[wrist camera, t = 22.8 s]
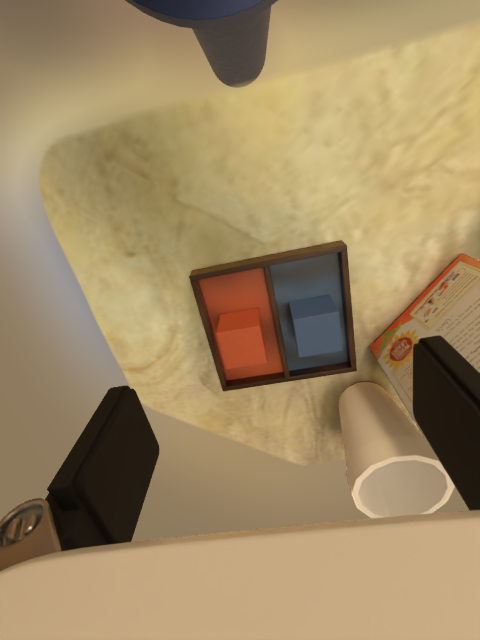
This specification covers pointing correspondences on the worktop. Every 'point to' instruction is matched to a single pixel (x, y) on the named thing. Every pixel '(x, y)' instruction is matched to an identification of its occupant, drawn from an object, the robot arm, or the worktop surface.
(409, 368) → the cracker box
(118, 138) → the worktop surface
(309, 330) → the slate-blue block
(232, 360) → the terracotta block
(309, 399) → the worktop surface
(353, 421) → the foam cup
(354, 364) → the sorting tray
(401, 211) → the worktop surface
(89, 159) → the worktop surface
